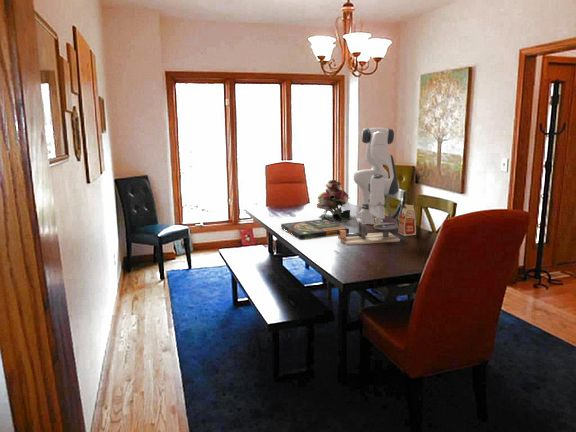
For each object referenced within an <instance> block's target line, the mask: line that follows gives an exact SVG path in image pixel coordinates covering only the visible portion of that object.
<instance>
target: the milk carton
mask: <svg viewBox="0 0 576 432" xmlns="http://www.w3.org/2000/svg"><path fill="white" fill-rule="evenodd" d="M415 213H416V212H415V208H414V205H413V204H408V203H407V204H406V203H404V205H403V207H402V210H401V214H400V216H399V217H400V218H399V222H398V228H397V230H398V231H397V234H400V235H402V236H403V237H409V236H414V235H415V236H416V235H417V223H416V214H415Z"/></svg>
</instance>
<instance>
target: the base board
mask: <svg viewBox="0 0 576 432" xmlns="http://www.w3.org/2000/svg"><path fill="white" fill-rule="evenodd" d="M366 227H367V224H365V223H364V222H362V221H359V223H358V233H362V236H355V237H346V239H340V238H339V234H338V235H337V238H338V239H339V240H340V241H341V242H342V243H343V245H345V246H349V245H350V246H351V245H366V244H381V243H384V244H385V243H397V242H398V243H399V242H401V239H400V238H399V237H398V236H396V235H394V234H393V233H391V232H390V230H382V232H373V233H372V232H370V233H368V232H367V231H366V229H367V228H366ZM366 232H367V236H366Z"/></svg>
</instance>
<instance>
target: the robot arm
mask: <svg viewBox="0 0 576 432" xmlns="http://www.w3.org/2000/svg"><path fill="white" fill-rule="evenodd" d="M360 133H361V134H360V139H361V142H362V143H363V144H366V148H365V149H366V151H365V158H364V159H365V163H367V164H368V165H369V166H371V167H370V168H367V169H359V170H355V172H354V173H353V181H354V182H355V184H356V185H358V186H359V188H360V190H361V193H362V205H361V210H360V211H359V212H357V217H356V218H355V219H356V222H357V223H358V224H359V221H362V222H364V223H365V224H366V225H374V224H375V218H377V224H378V225H380V223H384V219H385V218H386V210H385V206H384V205H385V195H391V196H395V195H396V194H397V193H399V190H400V184H399V180H398V176H397V170H396V163H395V159H394V157H393V155H392V154H390V152H389V150H388V149H389V145H391V144H393V142H394V141H395V131H394V129H392V128H386V127H365V128H363V129H362V131H361V132H360ZM383 165H385V166H386V167H387V168H388V171H389V172H388V171H387V170H386V169H385V168H384V166H383Z"/></svg>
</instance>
